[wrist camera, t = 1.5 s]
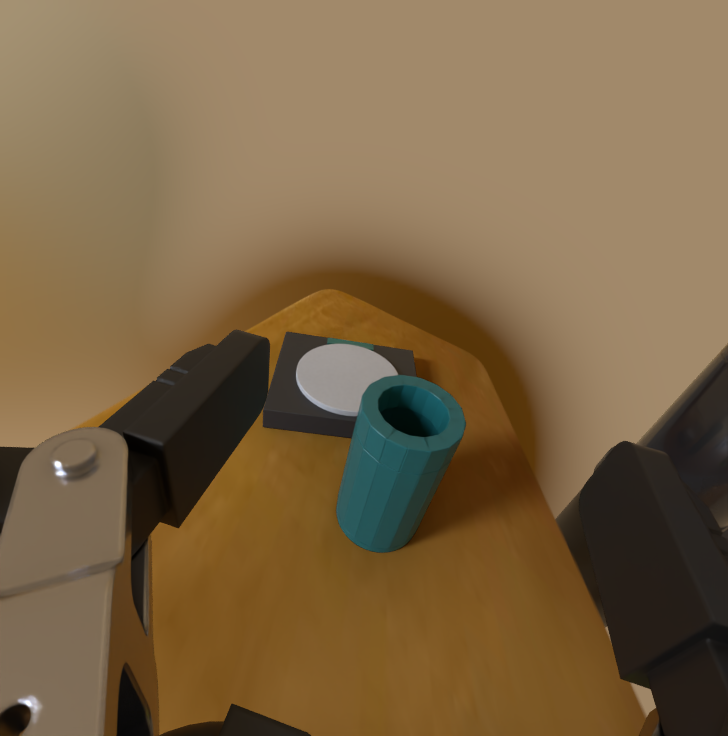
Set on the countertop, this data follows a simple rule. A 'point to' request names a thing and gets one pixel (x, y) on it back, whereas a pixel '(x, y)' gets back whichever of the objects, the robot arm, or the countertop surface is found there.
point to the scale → (327, 382)
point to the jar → (396, 460)
